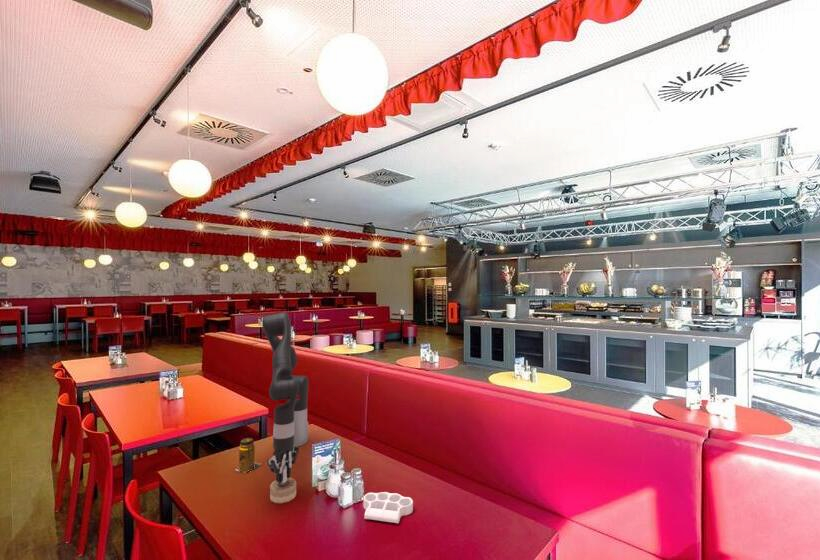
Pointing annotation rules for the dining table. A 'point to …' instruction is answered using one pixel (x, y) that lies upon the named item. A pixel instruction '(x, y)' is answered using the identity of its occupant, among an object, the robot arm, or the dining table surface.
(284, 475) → the white rod
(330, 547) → the dining table surface
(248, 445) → the condiment
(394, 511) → the white compartment tray
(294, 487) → the bead
